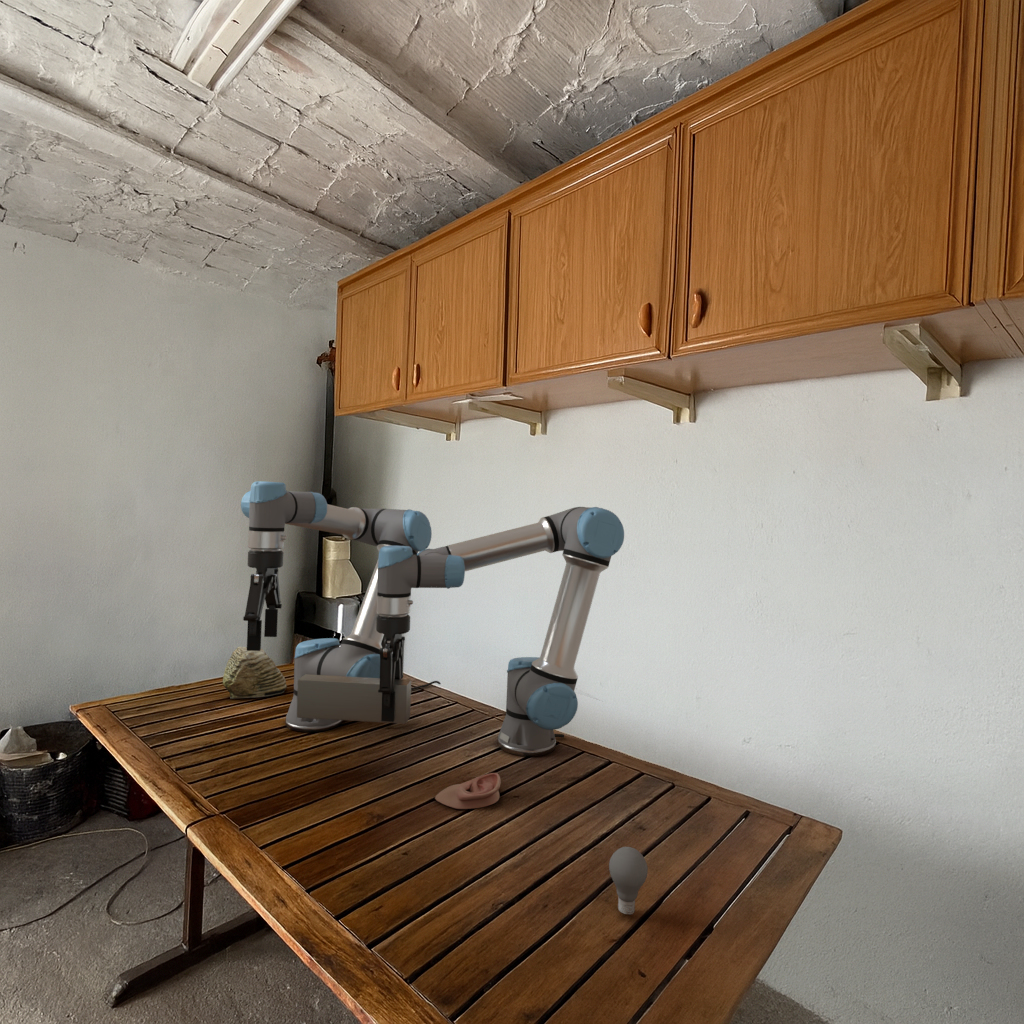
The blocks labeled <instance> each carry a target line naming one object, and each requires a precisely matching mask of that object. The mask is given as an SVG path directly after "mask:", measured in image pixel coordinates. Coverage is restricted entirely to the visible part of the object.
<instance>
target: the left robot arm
mask: <svg viewBox="0 0 1024 1024" xmlns="http://www.w3.org/2000/svg"><path fill="white" fill-rule="evenodd" d="M240 509H241V512H242V514H243V515H244V516H245V518H248V535H247V537H248V539H247V547H248V548H249V549H250V550H248V551H247V567H248V568H252V569H255V573H251V574H250V580H249V581H250V582H249V583H250V584H249V589H248V595H247V600H246V607H245V613H244V616H242V617H243V620H242V621H245V622H247V630H246V637H247V638H246V647H247V651H260V650H261V649H262V626H263V625H262V623H263V620H262V619H261V617H262V613H263V609H264V605H265V606H266V608H265V609H264V632H263V637H264V638H277V637H278V617H279V609H280V610H281V609H282V607H283V604H282V601H281V592H280V590H281V589H280V581H279V569H280V568H282V567H283V566H284V552H283V550H282V549H284V545H285V544H284V541H285V540H287V536H286V535H284V534H285V527H286V525H287V526H289V525H290V526H295V527H300V528H304V529H305V528H306V529H311V530H315V531H321V532H327V533H332V534H338V535H342V536H343V537H344V538H345V539H347V540H352V541H356V542H358V543H363V544H366V545H369V546H374V547H376V549H377V551H378V552H379V550H380V549H381V548H382V547H384V546H409V547H411V548H412V553H413V555H417V554H418V553H419V552H420V551H422V550H425V549H429V546H430V544H431V541H432V536H433V535H432V526H431V522H430V520H429V518H428V517H427V515H426V514H425V513H423V512H422V511H420V510H413V509H410V508H409V509H397V508H395V509H394V508H382V507H381V508H362V507H358V506H357V507H356V506H352V507H348V508H345V507H341V506H337V505H333V504H328V502H327V499H326V498H325V496H324V495H323V494H321V493H320V492H314V491H294V490H292V491H291V490H287V485H286V483H285V482H281V481H280V482H279V481H262V480H261V481H260V480H259V481H258V480H256V481H254V482H252V483H251V485H250V490H249V491H247V492H245V493H244V494H243V496H242V498H241V501H240ZM378 559H379V557H378ZM378 559H377V561H376V564H375V566H374V569H373V572H372V575H371V577H370V581H369V583H368V585H367V589H366V591H365V594H364V597H363V600H362V602H361V605H360V608H359V610H358V613H357V616H356V619H355V621H354V624H353V627H352V630H351V633H350V634H349V635H347V636H344V637H343V638H342V640H341V643H340V640H339V639H338V638H335V637H329V638H328V637H326V638H313V639H308V640H304V641H302V642H299V643H298V644H297V645H296V647H295V652H294V653H295V654H294V657H293V659H294V660H293V662H294V663H293V665H294V666H293V695H292V696H293V697H292V699H291V702H290V704H289V708H288V711H287V713H286V715H285V726H286V728H287V729H289V730H291V731H294V732H295V731H296V732H301V733H316V732H325V731H329V730H332V729H335V728H337V727H339V726H340V725H342V723H343V722H344V720H331V719H313V718H297V694H298V679H300V678H301V677H303V676H304V675H305V674H308V675H327V676H346V677H365V678H380V652H379V650H380V648H382V642H383V640H384V637H385V635H384V634H383V633H379V632H377V630H376V620H377V616H378V615H379V614H378V613H377V585H378ZM433 684H438V685H442V683H441V682H440V681H439V680H432V681H430V682H428V683H426V684H422V685H417V686H413V687H411V691H414V690H418V689H422V688H425V687H429V686H432V685H433Z"/></svg>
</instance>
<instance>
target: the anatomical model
mask: <svg viewBox="0 0 1024 1024" xmlns="http://www.w3.org/2000/svg"><path fill="white" fill-rule="evenodd" d="M501 779H502V778H501V776H500V774H498V772H490V773H486V774H482V775H480V776H477V777H474V778H472V779H470V780H467V781H465V782H463V783H457V784H453V785H452V784H451V785H450V786H447V787H445V788H444V789H442V790H440V791H439V792H438V793H437V794H436V795H435V797H434V800H436V802H438V803H440V804H442V805H444V806H446V807H450V808H451V809H456V810H468V809H469V810H471V809H478V808H484V807H488V806H492V805H493V804H495V803H497V802H498V801H499V800H500V796H501V795H500V791H499V789H500V788H501V783H502V780H501Z"/></svg>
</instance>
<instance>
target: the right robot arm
mask: <svg viewBox="0 0 1024 1024" xmlns="http://www.w3.org/2000/svg"><path fill="white" fill-rule="evenodd" d="M624 541H625V529H624V525H623V523H622V521H621V519H620V518H619V517H618V515H617V514H616V513H614V512H613V511H611V510H609V509H606V508H603V507H597V506H592V507H587V506H575V507H571V508H568V509H564V510H563V511H560V512H557V513H553V514H550V515H546V516H542V517H540V519H539V520H538V522H535V523H531V524H526V525H523V526H519V527H515V528H511V529H507V530H504V531H503V530H502V531H498V532H496V533H491V534H487V535H483V536H480V537H476V538H471V539H467V540H464V541H459V542H455V543H451V544H447V545H445V546H440V547H436V548H427V549H425V550H422V551H420V552H418V554H417V555H413V553H412V548H411V547H409V546H384V547H382V548H381V549H380V550H379V551H378V558H379V559H377V561H378V585H377V613H378V614H379V615H378V616H377V620H376V630H377V632H379V633H383V634H384V636H383V640H382V642H381V646H382V648H380V650H379V652H380V688H379V690H378V692H379V693H382V716H381V721H388V722H394V709H395V692H394V679H403V678H404V655H405V641H406V636H404V634H408V632H410V630H411V616H410V615H409V614H410V613H411V606H412V605H414V600H412V599H411V596H412V589H451V588H452V589H453V588H454V589H455V588H460V587H462V586H463V585H464V581H465V575H466V574H465V573H466V572H469V571H474V570H476V569H480V568H483V567H487V566H492V565H495V564H499V563H503V562H507V561H511V560H515V559H518V558H522V557H526V556H530V555H534V554H539V553H542V552H547V553H549V554H552V553H553V554H554V553H557V552H562V557H563V560H564V561H565V567H564V570H563V574H562V577H561V581H560V585H559V588H558V591H557V596H556V599H555V602H554V606H553V610H552V613H551V617H550V621H549V624H548V627H547V632H546V635H545V637H544V642H543V646H542V649H541V654H540V656H539V657H538V656H521V657H520V656H519V657H514V658H511V659H510V660H509V661H508V664H507V670H506V673H507V675H506V676H507V677H506V679H507V680H506V683H507V684H506V701H505V716H504V719H503V721H502V724H501V727H500V730H499V732H498V735H497V746H498V748H499V749H500V750H502V751H504V752H505V753H509V754H510V755H514V756H521V757H540V756H545V755H548V754H551V753H552V752H553V751H554V750H556V742H557V738H560V739H561V738H562V739H563V738H565V734H563V733H555V730H556V731H557V730H559V729H562V728H564V727H565V726H567V725H568V724H569V723H570V722H572V720H573V719H574V718H575V716H576V714H577V711H578V707H579V702H578V697H577V694H576V692H575V689H576V685H577V682H578V678H579V675H578V673H577V672H576V669H575V665H576V661H577V658H578V655H579V651H580V647H581V643H582V640H583V636H584V633H585V628H586V627H587V626H586V625H587V622H588V618H589V615H590V611H591V607H592V605H593V600H594V597H595V594H596V590H597V586H598V582H599V578H600V575H601V573H602V572H604V571H606V570H607V569H609V566H610V562H611V559H612V556H614V555H616V553H618V552H619V551H620V549H622V546H623V544H624ZM402 635H403V636H402Z"/></svg>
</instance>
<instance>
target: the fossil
mask: <svg viewBox="0 0 1024 1024" xmlns="http://www.w3.org/2000/svg"><path fill="white" fill-rule="evenodd" d="M222 676H223V677H222V685H223V687H224V688H225V690H226V691H228V693H229V698H230V699H250V698H264V697H271V696H275V695H281V694H284V693H285V691H286V689H287V687H288V686H287V680H286V678H285V676H284V674H283V673H282V672H281V669H279V668H278V667H277V665H276V663H275V662H274V660H273V659H272V658H271V657H270V656H269V655H268V654H267V653H266V652H265V650H264V649H263V648H261V650H260V651H247V646H246V647H245V646H238V647H237V648H236V649H235V650H233V651H232V653H231V656H230V657H229V659H228V660H227V663H226V666H225V668H224V671H223V675H222Z"/></svg>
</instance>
